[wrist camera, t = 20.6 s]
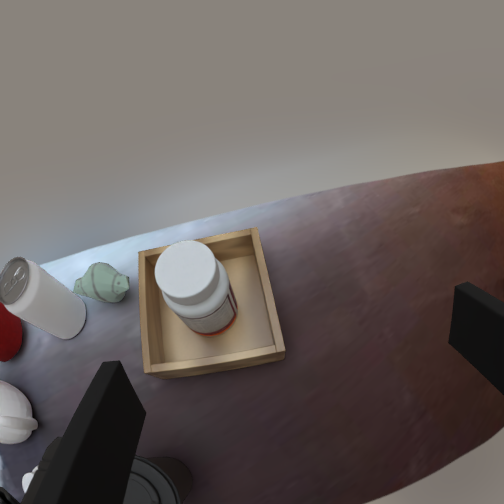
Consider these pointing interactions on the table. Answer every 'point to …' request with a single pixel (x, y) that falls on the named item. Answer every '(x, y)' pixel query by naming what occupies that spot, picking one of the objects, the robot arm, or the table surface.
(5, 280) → the can
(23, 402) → the cat figurine
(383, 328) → the table surface
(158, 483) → the coffee cup
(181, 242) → the pill bottle
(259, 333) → the holder
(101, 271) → the green rounded faceted piece
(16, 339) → the apple
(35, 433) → the table surface
